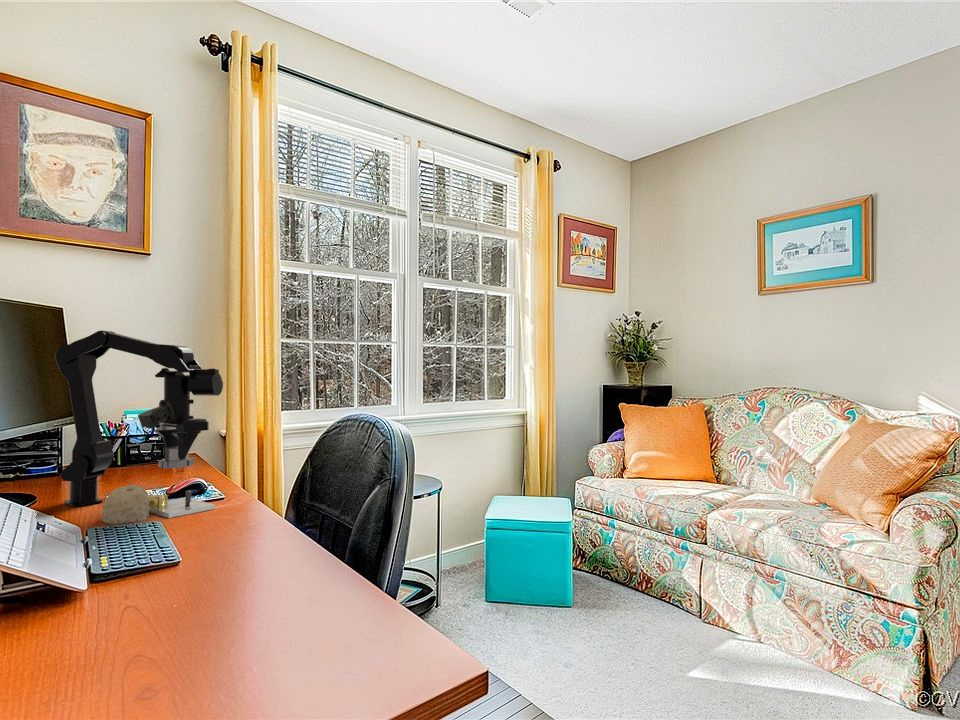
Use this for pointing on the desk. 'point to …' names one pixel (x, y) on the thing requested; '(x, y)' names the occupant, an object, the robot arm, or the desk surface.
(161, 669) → the desk surface
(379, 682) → the desk surface
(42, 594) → the desk surface
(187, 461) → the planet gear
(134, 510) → the brown rounded stone
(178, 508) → the carrier plate
